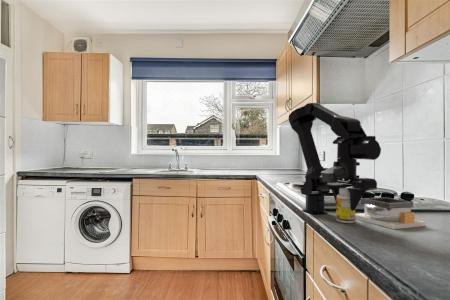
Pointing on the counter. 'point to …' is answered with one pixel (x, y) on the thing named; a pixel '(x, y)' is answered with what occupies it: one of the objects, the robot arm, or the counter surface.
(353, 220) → the supplement bottle
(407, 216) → the hollow square frame
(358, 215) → the mount plate
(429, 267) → the counter surface
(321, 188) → the robot arm
